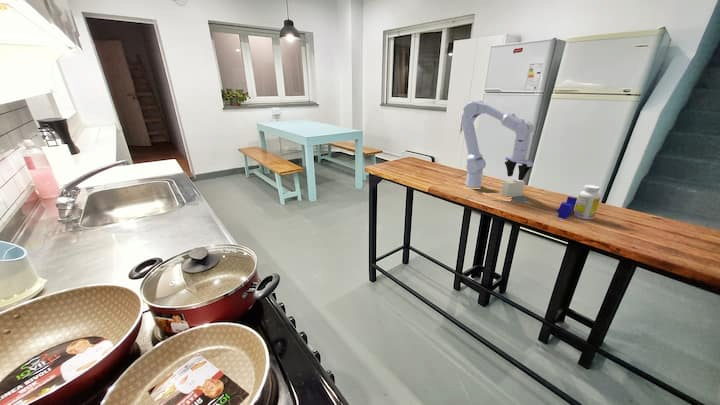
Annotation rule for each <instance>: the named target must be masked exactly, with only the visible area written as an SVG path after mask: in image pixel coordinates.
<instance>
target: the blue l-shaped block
mask: <svg viewBox="0 0 720 405" xmlns="http://www.w3.org/2000/svg"><path fill="white" fill-rule="evenodd" d="M566 198H567V199H566V202H564V201H562V202H561V203H560V205H559V207H558V209H557V213H558V215H557V218H561V219H564V220H568V218H569V217H570V216H571V215H572V214H573V212H574V211H575V208H576V204H577V200H578V197H573V196H567V197H566ZM570 214H571V215H570Z"/></svg>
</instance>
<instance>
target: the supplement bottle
mask: <svg viewBox="0 0 720 405" xmlns="http://www.w3.org/2000/svg"><path fill="white" fill-rule="evenodd" d="M599 191H600V186H597V185H593V184H584V187H583V190H582V191H580V192H579V193H578V197H577V201H576V204H575V208H574V211H573V212H574V213H573V215H574V216H575V217H576V218H579V219H583V220H593V219H594V218H595V217H596V214H597V209H598V206H599V203H600V200H601V198H602V196H601V194H600V193H599Z"/></svg>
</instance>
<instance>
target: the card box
mask: <svg viewBox="0 0 720 405" xmlns="http://www.w3.org/2000/svg"><path fill="white" fill-rule="evenodd" d="M502 183H503V184H502V188H501V189H502V190H501V192H502V194H501V195H503V196H505V197H516V196H522V195H523V194H524V189H525V184H526V181H523V180H518V179H516V180H508V181H507V180H505V181H503V182H502Z"/></svg>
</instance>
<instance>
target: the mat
mask: <svg viewBox="0 0 720 405" xmlns="http://www.w3.org/2000/svg"><path fill="white" fill-rule="evenodd" d="M511 199H512V200H511V201H510V202H509V203H525V204H526V203H528V204H529V203H530V204H532V203H533V202H532V201H531V199H529V198H528V197H527V196H526V195H525V194H524V193H523V195H522V196H516V197H512V198H511Z"/></svg>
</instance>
